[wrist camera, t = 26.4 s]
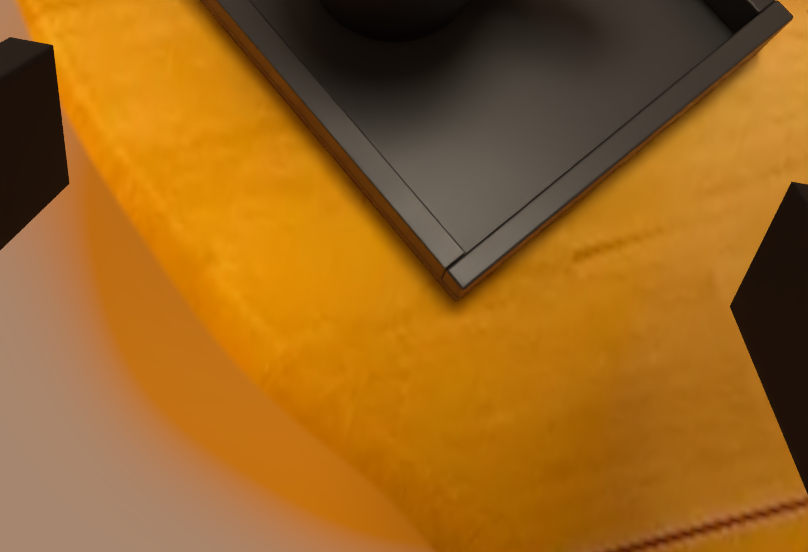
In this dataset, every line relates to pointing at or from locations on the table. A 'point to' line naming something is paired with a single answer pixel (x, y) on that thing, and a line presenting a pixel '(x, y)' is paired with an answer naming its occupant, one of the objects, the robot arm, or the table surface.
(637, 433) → the table surface
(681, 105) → the tray
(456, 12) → the mug
